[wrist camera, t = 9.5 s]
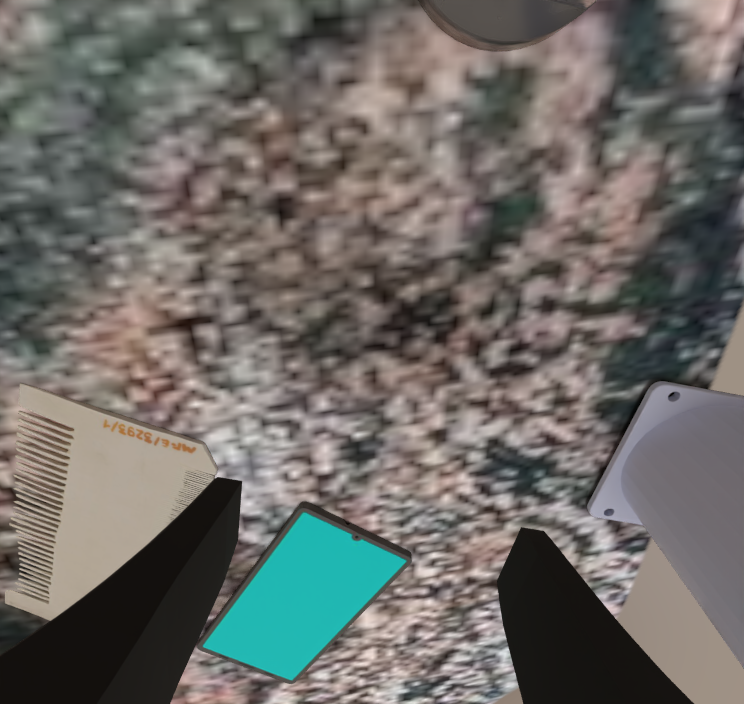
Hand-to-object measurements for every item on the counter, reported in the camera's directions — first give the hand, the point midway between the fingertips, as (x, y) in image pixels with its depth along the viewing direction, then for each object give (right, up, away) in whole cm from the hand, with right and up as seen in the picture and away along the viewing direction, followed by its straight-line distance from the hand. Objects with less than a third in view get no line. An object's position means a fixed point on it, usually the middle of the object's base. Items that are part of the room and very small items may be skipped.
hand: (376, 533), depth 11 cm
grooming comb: (-16, -6, +14) cm, 22 cm away
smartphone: (-5, -11, +16) cm, 20 cm away
